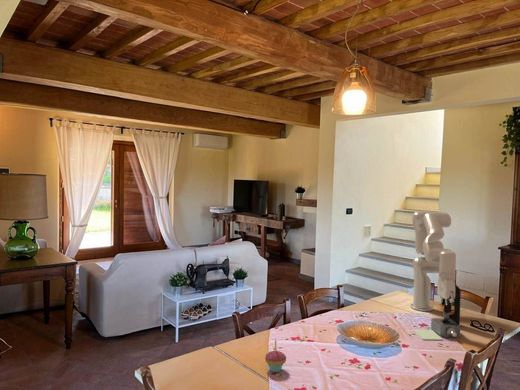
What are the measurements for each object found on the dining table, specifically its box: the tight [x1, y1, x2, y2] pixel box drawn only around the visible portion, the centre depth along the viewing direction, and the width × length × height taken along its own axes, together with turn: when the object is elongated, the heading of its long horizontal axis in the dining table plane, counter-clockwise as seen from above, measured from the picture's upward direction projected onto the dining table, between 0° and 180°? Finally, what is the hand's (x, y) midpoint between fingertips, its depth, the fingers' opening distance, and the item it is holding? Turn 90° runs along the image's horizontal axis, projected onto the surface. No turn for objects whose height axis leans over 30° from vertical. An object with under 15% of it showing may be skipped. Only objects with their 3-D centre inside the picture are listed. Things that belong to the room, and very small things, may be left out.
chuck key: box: [437, 303, 454, 323], centre depth 196 cm, size 3×7×9 cm, turn 90°
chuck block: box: [430, 317, 461, 338], centre depth 194 cm, size 15×10×6 cm
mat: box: [412, 329, 444, 341], centre depth 193 cm, size 12×10×1 cm
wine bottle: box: [448, 269, 462, 326], centre depth 209 cm, size 8×8×30 cm
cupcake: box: [264, 337, 287, 373], centre depth 154 cm, size 9×8×12 cm
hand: (446, 310), depth 196 cm, fingers closed on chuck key, 2 cm apart
